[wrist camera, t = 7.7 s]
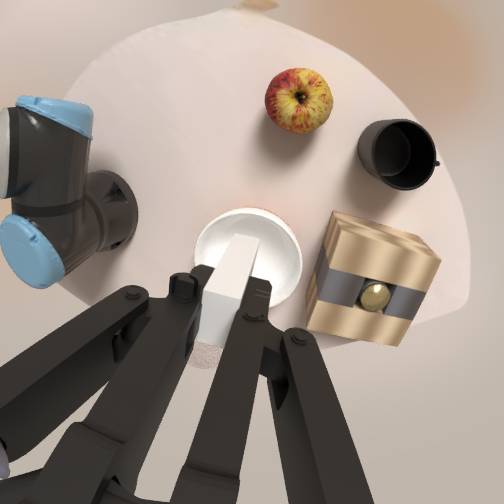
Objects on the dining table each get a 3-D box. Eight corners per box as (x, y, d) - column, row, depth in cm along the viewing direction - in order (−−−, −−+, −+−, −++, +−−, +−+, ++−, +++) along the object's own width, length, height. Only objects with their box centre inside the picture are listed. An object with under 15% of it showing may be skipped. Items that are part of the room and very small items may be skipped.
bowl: (308, 204, 46) (311, 219, 39) (294, 292, 53) (293, 318, 46) (209, 192, 48) (194, 204, 41) (206, 279, 54) (193, 302, 47)
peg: (348, 278, 49) (356, 308, 41) (356, 255, 47) (367, 281, 39) (371, 284, 49) (383, 313, 40) (380, 261, 47) (394, 288, 39)
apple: (278, 68, 39) (274, 52, 30) (336, 87, 39) (347, 75, 29) (262, 122, 42) (253, 120, 33) (319, 140, 42) (325, 143, 33)
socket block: (305, 295, 53) (306, 329, 44) (332, 210, 46) (341, 231, 37) (384, 312, 52) (397, 346, 43) (418, 236, 45) (441, 260, 36)
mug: (420, 187, 42) (444, 201, 34) (353, 173, 43) (366, 183, 35) (430, 132, 39) (456, 135, 30) (361, 114, 40) (376, 111, 31)
